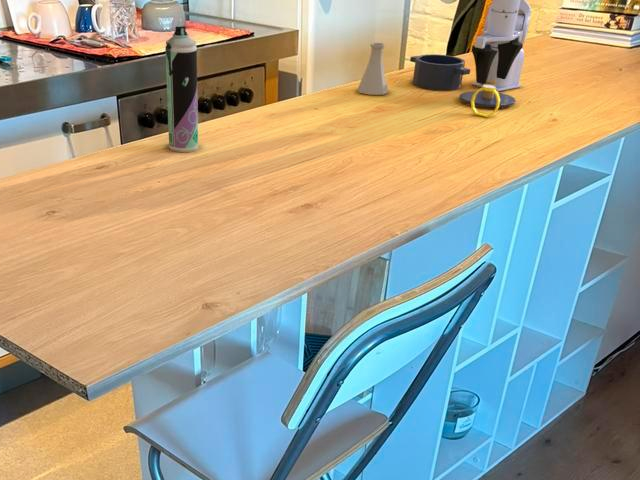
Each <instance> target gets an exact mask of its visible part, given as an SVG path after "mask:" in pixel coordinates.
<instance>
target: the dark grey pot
mask: <svg viewBox="0 0 640 480" xmlns="http://www.w3.org/2000/svg"><path fill="white" fill-rule="evenodd" d="M409 61H410V63H414V67H413V68H414V69H413V76H412V85H413V86H415V87H416V88H419V89H424V90H428V91H437V92H438V91H439V92H447V91H448V92H449V91H455V90H459V89H461V86H462V83H463V77H464V76H466V75H470V74H471V69H470V68H467V67H465V65H466V61H465V60H464V59H462V58H461V57H457V56H454V55H446V54H435V53H433V54H421V55H415V56H410V59H409Z"/></svg>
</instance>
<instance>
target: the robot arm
mask: <svg viewBox="0 0 640 480" xmlns="http://www.w3.org/2000/svg"><path fill="white" fill-rule="evenodd" d="M487 10H488V11H487V14H486V17H485V21H484V25H483V31H482V34H481V35H478V36H476V37H475V42H474V44H473V45H472V47H471V52H472V55H473V60H474V65H475V80H476V81H475V82H472V83H471V85H472V86H474V87H478V88H482V86H483V85H485V83H486V81H487V80H489V79H490V80H495V81H496V85H495V87H496V88H495V90H496V91H497V92H503V91H508V90H512V89H516V88H521V87H522V84H520V80H521V74H522V70H523V65H524V61H525V52H524V49H523V47H524V44H525V42H526V39H527V34H528V31H529V25H530V21H531V14H532V9H531V5H530V3H529V2H527V1H526V0H492V2H491V4H490V5H489V6H488V9H487Z"/></svg>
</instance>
